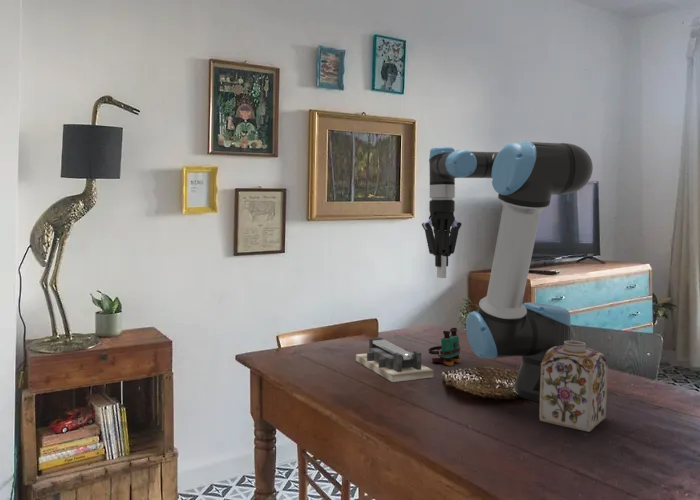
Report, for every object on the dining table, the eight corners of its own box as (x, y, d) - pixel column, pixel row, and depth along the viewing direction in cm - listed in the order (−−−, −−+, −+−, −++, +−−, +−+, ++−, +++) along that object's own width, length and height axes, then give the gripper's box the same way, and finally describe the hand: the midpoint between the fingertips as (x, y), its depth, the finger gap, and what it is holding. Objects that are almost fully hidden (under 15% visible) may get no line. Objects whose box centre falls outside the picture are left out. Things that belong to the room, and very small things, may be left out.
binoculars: (435, 326, 202) (463, 327, 196) (438, 359, 202) (466, 361, 196) (421, 331, 195) (449, 331, 189) (423, 365, 195) (452, 367, 189)
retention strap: (415, 359, 179) (415, 353, 179) (402, 361, 177) (402, 355, 177) (384, 343, 197) (384, 337, 197) (372, 344, 196) (372, 339, 196)
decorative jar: (537, 421, 143) (539, 343, 142) (556, 408, 152) (558, 334, 151) (591, 433, 136) (594, 350, 135) (607, 418, 145) (610, 341, 144)
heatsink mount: (433, 377, 179) (433, 353, 178) (392, 382, 174) (392, 357, 173) (393, 356, 202) (393, 335, 201) (355, 360, 197) (356, 339, 196)
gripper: (452, 199, 197) (452, 275, 198) (416, 199, 191) (416, 277, 192) (467, 199, 190) (466, 277, 191) (430, 199, 184) (430, 279, 186)
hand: (441, 277), depth 192 cm, fingers closed
